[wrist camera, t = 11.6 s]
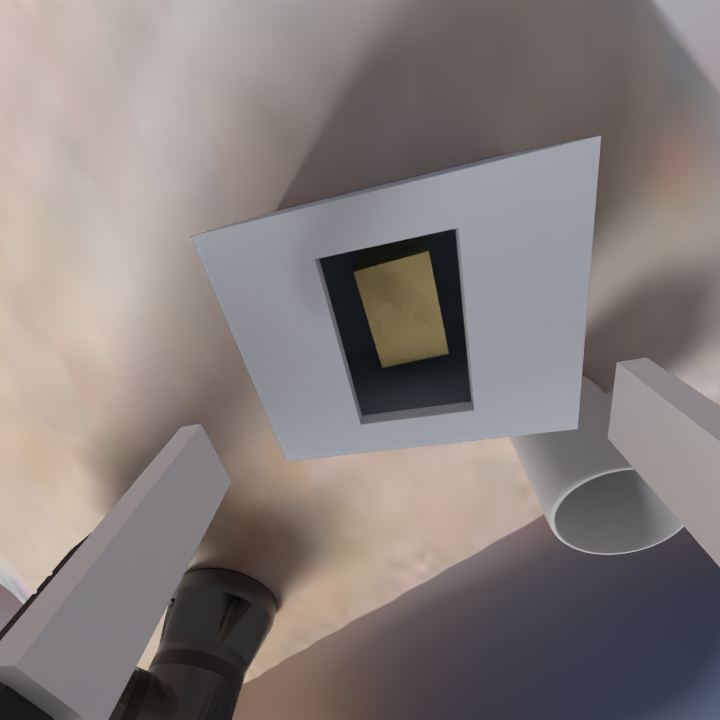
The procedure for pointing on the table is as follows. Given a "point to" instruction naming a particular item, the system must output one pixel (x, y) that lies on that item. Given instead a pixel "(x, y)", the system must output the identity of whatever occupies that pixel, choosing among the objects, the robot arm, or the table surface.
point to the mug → (593, 484)
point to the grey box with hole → (455, 295)
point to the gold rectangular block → (401, 301)
